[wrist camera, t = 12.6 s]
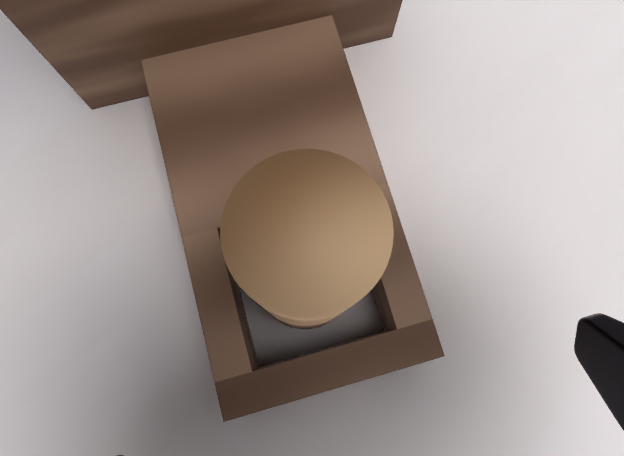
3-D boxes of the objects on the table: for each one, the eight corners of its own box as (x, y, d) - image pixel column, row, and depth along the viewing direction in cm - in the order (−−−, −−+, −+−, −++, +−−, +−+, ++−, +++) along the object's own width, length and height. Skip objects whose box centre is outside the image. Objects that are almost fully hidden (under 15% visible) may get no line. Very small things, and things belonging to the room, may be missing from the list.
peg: (365, 288, 23) (429, 235, 11) (302, 347, 22) (301, 356, 11) (307, 227, 24) (312, 116, 12) (244, 283, 23) (184, 224, 11)
